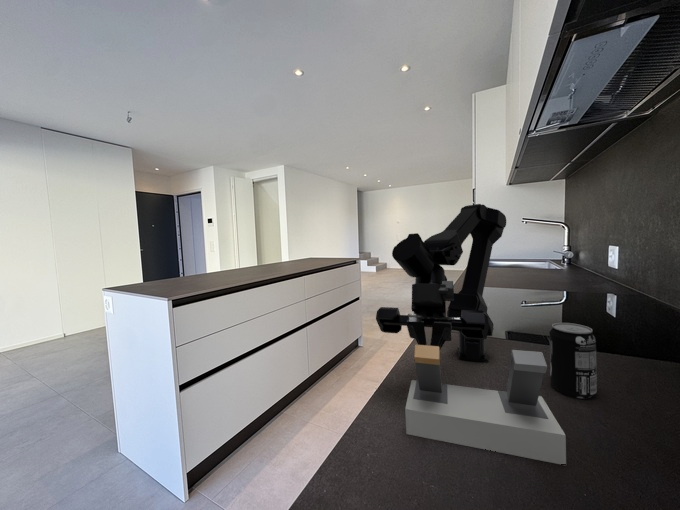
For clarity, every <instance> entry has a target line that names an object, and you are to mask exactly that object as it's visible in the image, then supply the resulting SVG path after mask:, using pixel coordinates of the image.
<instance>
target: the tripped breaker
mask: <svg viewBox="0 0 680 510" xmlns="http://www.w3.org/2000/svg"><path fill="white" fill-rule="evenodd" d="M440 353H441V349H440V350H439V346H430V345H428V344H427V345H418V344H415V345H414V354H413V355H414V362H415V368H416V376H417V380H418V382H419V389H420V390H423V391H430V392H437V393H442V384H443V383H442V368H441V355H440Z"/></svg>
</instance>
